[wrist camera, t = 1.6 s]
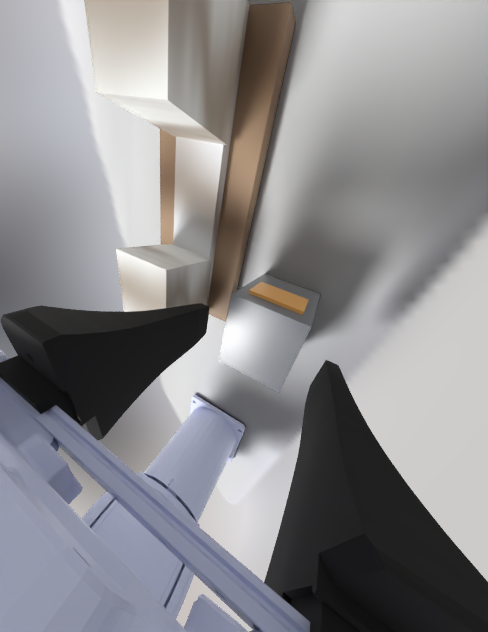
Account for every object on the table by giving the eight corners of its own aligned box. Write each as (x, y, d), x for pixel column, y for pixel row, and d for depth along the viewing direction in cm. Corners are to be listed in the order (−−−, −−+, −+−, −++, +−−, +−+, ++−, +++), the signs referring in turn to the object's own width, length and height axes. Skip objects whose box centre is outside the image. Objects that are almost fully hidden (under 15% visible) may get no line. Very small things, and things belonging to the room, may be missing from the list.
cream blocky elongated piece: (230, 317, 17) (186, 353, 12) (168, 288, 19) (108, 310, 14) (295, 23, 9) (238, -255, 4) (172, 27, 11) (27, -151, 6)
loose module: (295, 346, 16) (278, 392, 11) (250, 325, 17) (218, 360, 12) (321, 291, 13) (313, 323, 9) (265, 271, 14) (232, 290, 10)
